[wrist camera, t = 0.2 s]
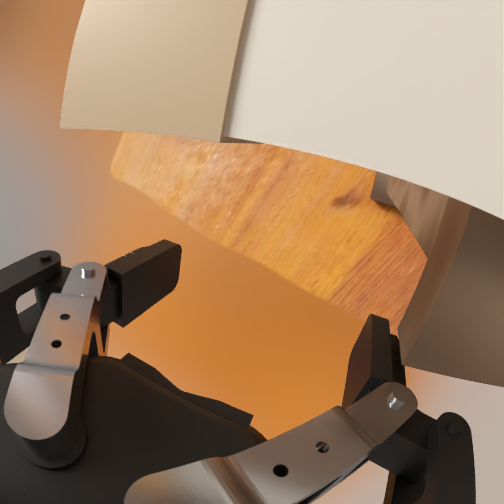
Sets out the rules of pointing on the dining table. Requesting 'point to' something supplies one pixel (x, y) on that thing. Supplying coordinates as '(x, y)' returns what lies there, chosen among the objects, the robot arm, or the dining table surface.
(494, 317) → the walnut pedestal
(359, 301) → the dining table surface
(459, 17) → the cream wooden bar
